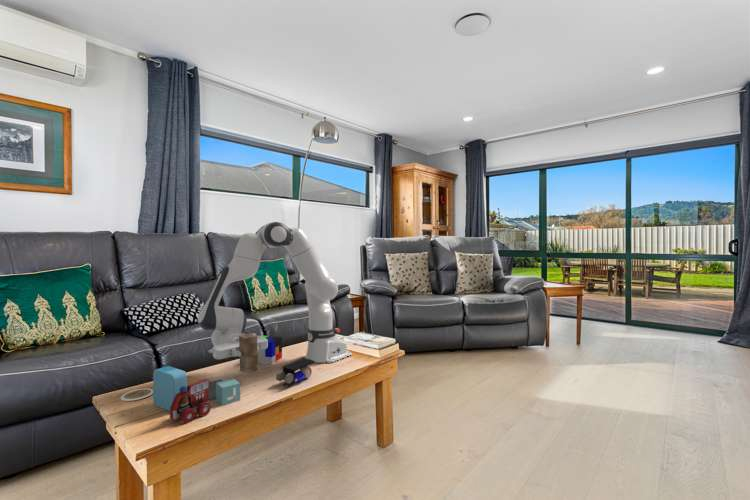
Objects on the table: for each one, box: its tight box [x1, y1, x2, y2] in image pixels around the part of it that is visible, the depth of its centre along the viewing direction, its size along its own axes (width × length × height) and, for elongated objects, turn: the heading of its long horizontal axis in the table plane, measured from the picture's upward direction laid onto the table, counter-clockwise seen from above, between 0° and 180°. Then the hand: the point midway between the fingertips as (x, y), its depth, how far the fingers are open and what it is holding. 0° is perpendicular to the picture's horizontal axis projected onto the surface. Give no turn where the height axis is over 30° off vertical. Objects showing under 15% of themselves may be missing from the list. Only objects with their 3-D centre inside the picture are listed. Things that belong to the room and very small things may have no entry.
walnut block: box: [239, 332, 259, 375], centre depth 136 cm, size 4×6×13 cm
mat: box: [209, 379, 224, 401], centre depth 135 cm, size 10×16×1 cm, turn 43°
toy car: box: [275, 357, 315, 388], centre depth 143 cm, size 7×8×15 cm
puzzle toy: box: [258, 335, 283, 365], centre depth 169 cm, size 10×10×10 cm
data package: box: [152, 365, 188, 412], centre depth 121 cm, size 12×4×12 cm, turn 59°
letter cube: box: [215, 378, 241, 406], centre depth 126 cm, size 6×6×6 cm
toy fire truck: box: [169, 378, 212, 424], centre depth 114 cm, size 7×12×10 cm, turn 148°
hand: (249, 352), depth 135 cm, fingers closed on walnut block, 4 cm apart
